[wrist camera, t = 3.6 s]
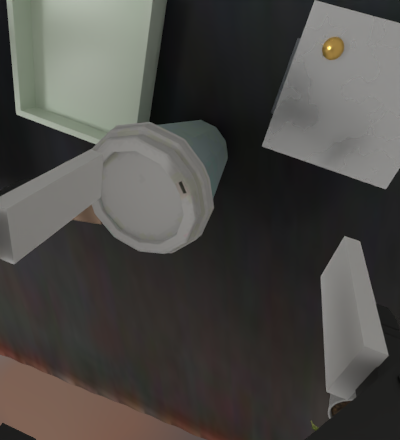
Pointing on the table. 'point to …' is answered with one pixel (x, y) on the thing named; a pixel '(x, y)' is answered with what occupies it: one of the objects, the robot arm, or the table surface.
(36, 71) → the tray
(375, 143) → the unit
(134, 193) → the disposable coffee cup
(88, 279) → the table surface
